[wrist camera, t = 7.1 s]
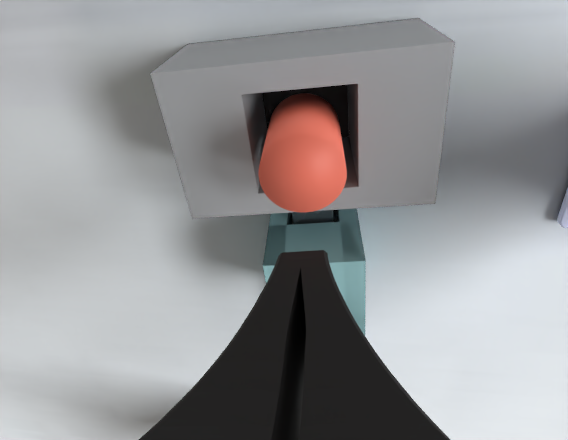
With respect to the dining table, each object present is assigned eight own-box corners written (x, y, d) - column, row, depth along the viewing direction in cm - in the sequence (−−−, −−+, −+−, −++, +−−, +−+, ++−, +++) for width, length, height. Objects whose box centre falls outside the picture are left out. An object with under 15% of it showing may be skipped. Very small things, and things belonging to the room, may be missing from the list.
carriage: (354, 195, 21) (365, 261, 17) (355, 278, 25) (364, 351, 20) (272, 200, 22) (262, 265, 17) (284, 281, 25) (278, 353, 21)
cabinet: (419, 18, 16) (454, 41, 12) (409, 150, 20) (435, 203, 16) (183, 44, 18) (144, 74, 14) (211, 165, 21) (187, 218, 17)
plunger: (338, 89, 15) (345, 130, 12) (340, 157, 16) (347, 209, 13) (265, 96, 15) (252, 138, 12) (274, 162, 17) (264, 215, 13)
